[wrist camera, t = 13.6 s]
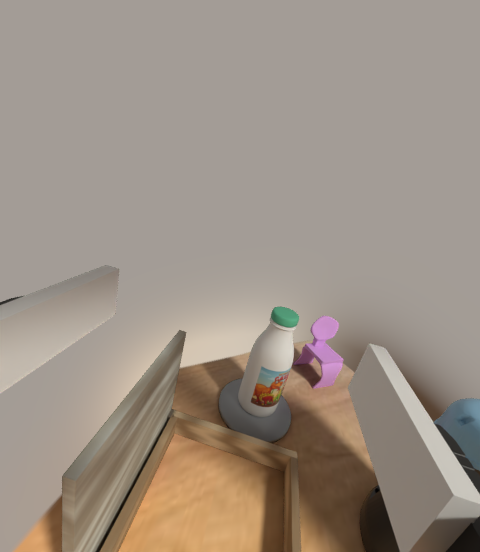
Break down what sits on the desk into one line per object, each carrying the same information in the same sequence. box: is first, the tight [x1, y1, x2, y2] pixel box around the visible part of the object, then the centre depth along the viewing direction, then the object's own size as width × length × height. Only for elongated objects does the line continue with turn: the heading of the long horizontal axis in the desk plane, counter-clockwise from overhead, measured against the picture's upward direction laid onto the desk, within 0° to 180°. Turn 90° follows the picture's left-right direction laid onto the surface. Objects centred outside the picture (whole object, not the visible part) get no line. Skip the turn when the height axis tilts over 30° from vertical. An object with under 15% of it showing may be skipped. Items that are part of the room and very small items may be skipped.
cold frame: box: [62, 330, 301, 552], centre depth 29 cm, size 22×20×18 cm
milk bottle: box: [238, 307, 299, 417], centre depth 46 cm, size 8×8×20 cm
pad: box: [219, 378, 291, 443], centre depth 49 cm, size 14×14×1 cm
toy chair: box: [293, 316, 343, 388], centre depth 61 cm, size 8×9×15 cm
